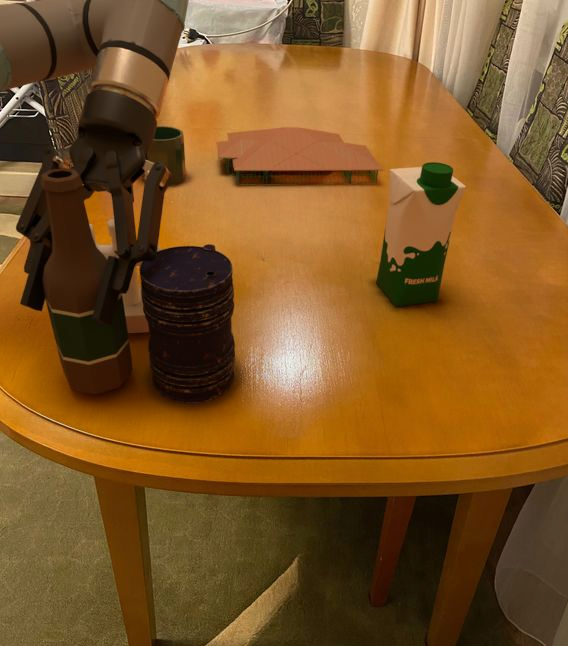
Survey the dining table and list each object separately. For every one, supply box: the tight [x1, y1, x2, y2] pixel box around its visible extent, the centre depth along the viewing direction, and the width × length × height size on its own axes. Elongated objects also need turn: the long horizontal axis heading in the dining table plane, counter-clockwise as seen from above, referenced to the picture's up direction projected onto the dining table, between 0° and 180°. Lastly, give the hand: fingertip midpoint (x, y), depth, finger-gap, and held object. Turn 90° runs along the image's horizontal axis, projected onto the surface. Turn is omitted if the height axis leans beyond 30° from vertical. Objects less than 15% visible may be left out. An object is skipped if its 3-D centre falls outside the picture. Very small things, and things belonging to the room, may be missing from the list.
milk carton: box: [375, 161, 467, 308], centre depth 86 cm, size 9×9×20 cm
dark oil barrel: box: [138, 243, 236, 404], centre depth 67 cm, size 10×10×18 cm
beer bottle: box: [40, 168, 133, 395], centre depth 63 cm, size 8×8×24 cm
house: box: [215, 126, 384, 186], centre depth 129 cm, size 23×33×8 cm
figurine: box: [89, 215, 163, 334], centre depth 76 cm, size 7×9×15 cm
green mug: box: [141, 125, 187, 187], centre depth 120 cm, size 12×9×9 cm
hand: (66, 314), depth 61 cm, fingers closed on beer bottle, 7 cm apart
